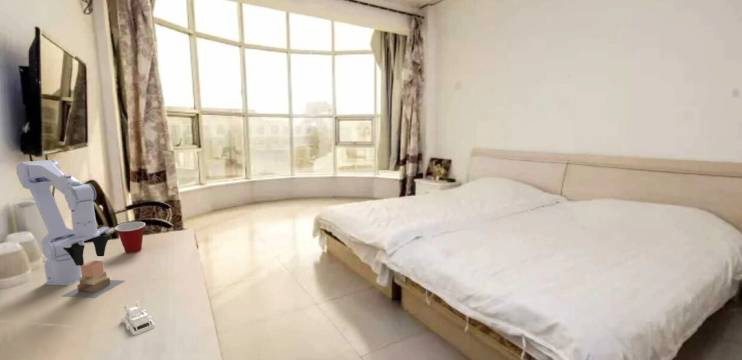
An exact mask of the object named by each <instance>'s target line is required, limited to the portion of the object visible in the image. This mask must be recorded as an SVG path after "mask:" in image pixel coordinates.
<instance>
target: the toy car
mask: <svg viewBox="0 0 742 360" xmlns="http://www.w3.org/2000/svg"><path fill="white" fill-rule="evenodd" d="M133 303H134V305H135V306H132V307H129V306H128V305H129V304H127V305H126V304H124V305H123V309H124V310H125V316H122V317H121V318H120V319H121V320H120V321H121V323H122V324H124V325H125V327H126V330H127V331H130V333H131V334H132V336H137V335H139V334H142V333H144V332H146V331H149V330H152V329H154V328H155V327H156V324H155V322H154V321H153V316H152V315H148V312H147V310H146V309H142V307H140V304H139V301H138V300H135V301H134V302H133ZM145 324H149V325H148V326H145V327H143V328H140V329H138V327H139V326H140V327H141V326H142V325H145Z"/></svg>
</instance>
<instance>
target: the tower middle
mask: <svg viewBox="0 0 742 360" xmlns="http://www.w3.org/2000/svg"><path fill="white" fill-rule="evenodd" d="M103 271H104V270H103ZM107 276H108V275H107V271H106V270H105V271H104V272H103V273H101V274H99V275H97V276H95V277H82V276H81V277H79V280H78V282H79V284H84V285H95V284H97V283H99V282H100V281H102V280H104V279H106V278H107Z"/></svg>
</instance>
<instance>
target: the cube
mask: <svg viewBox="0 0 742 360" xmlns="http://www.w3.org/2000/svg"><path fill="white" fill-rule="evenodd" d="M80 267H81V273H82V277H95V276H97V275H99V274H101V273H103V272H104V265H103V261H102V260H89V261H88V262H84V264H83V265H82V266H80Z"/></svg>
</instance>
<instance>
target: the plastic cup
mask: <svg viewBox="0 0 742 360" xmlns="http://www.w3.org/2000/svg"><path fill="white" fill-rule="evenodd" d="M145 226H146V222H143V221H130V222H129V221H128V222H124V223H121V224H118V225H116V226H115V228H114V230H116V231H117V234H118V236H119V239H120V241H121V245H122V246H123V250H124V252H125V253H126V254H136V253H138V252H140V250H141V251H142V247H143V238H144V230H145Z"/></svg>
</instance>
